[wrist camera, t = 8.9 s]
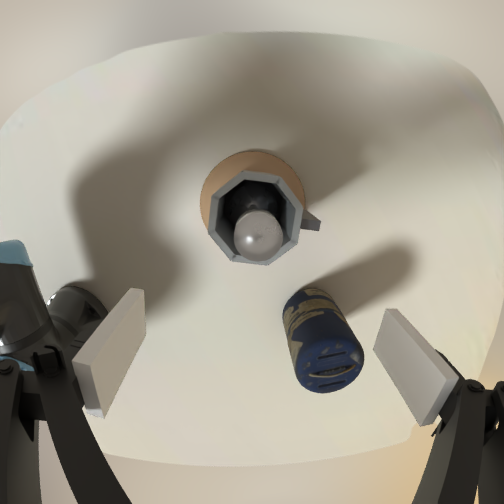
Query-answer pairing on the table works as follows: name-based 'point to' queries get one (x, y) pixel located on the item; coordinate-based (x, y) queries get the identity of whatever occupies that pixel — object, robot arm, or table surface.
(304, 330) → the canister
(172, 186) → the table surface
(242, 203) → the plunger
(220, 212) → the press carafe
